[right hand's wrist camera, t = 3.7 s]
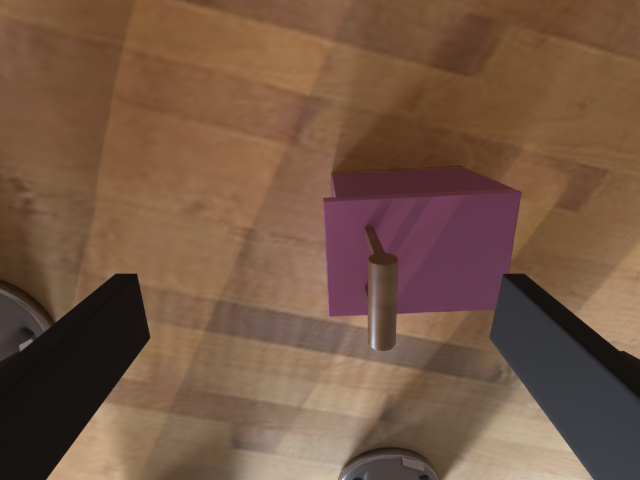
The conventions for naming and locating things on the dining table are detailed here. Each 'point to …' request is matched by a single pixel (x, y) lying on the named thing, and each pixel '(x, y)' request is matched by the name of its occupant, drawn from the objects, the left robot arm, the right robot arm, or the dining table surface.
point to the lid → (416, 254)
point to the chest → (410, 181)
